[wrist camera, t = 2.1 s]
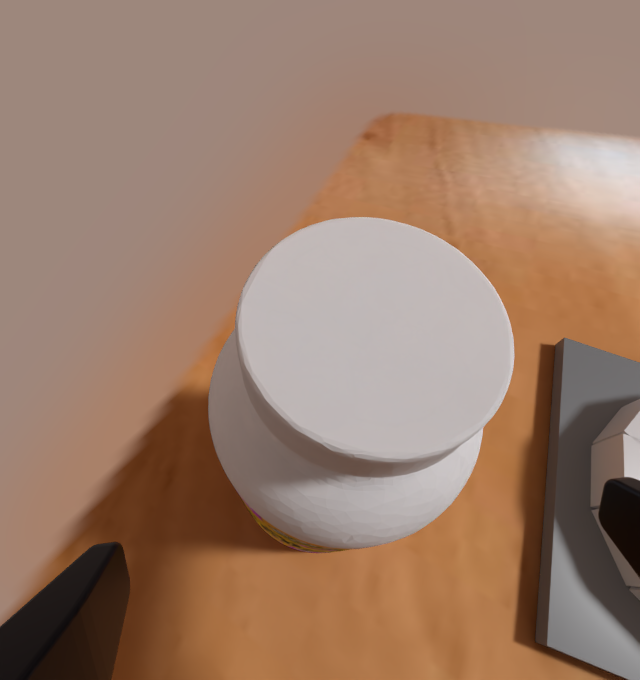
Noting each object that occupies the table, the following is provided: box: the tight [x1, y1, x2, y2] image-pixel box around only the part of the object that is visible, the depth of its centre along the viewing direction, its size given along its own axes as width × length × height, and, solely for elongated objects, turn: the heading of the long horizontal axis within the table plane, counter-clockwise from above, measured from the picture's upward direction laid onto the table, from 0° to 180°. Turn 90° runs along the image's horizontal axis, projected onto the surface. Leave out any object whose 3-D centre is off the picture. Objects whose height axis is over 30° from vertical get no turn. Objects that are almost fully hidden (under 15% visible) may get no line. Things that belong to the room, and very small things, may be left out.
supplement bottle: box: [208, 217, 514, 553], centre depth 12 cm, size 7×7×13 cm
